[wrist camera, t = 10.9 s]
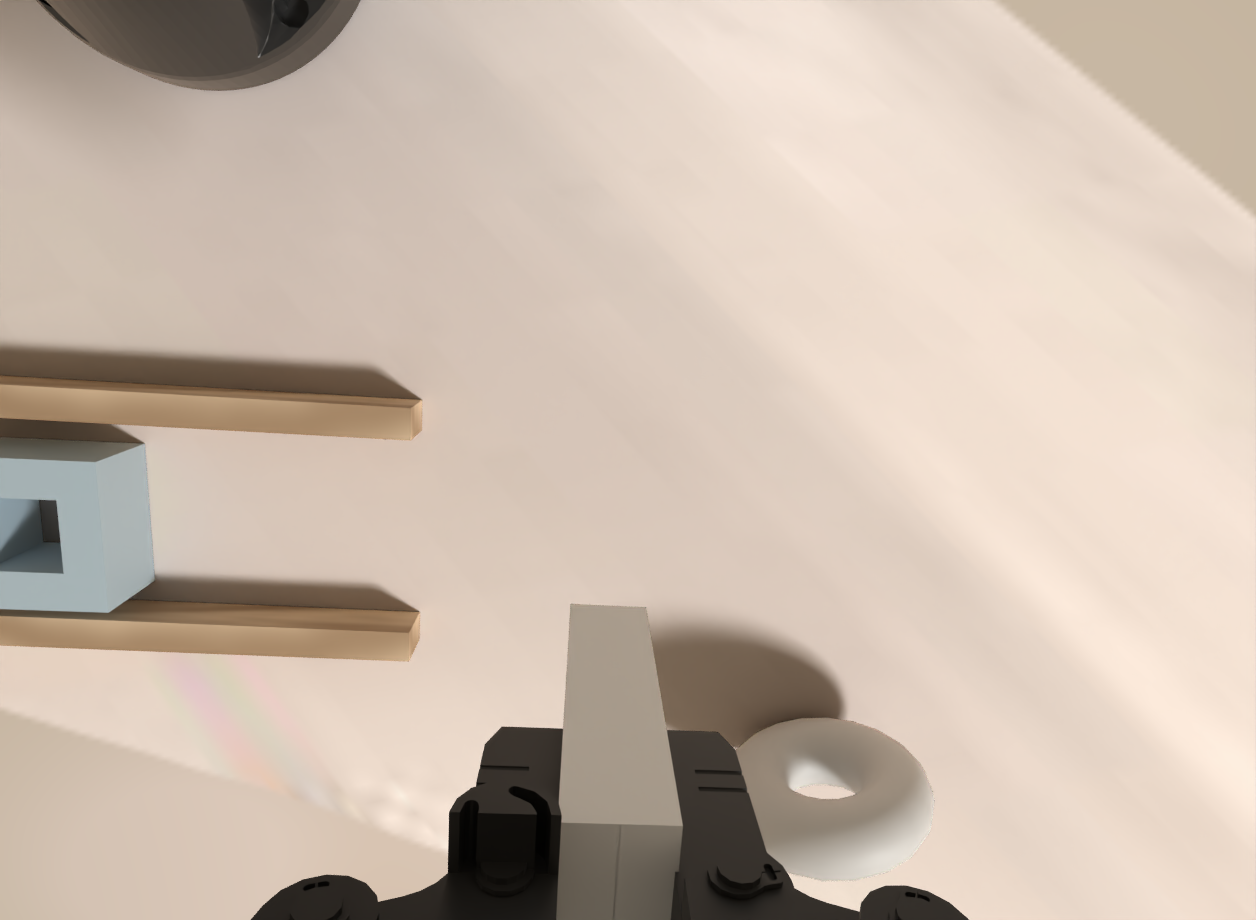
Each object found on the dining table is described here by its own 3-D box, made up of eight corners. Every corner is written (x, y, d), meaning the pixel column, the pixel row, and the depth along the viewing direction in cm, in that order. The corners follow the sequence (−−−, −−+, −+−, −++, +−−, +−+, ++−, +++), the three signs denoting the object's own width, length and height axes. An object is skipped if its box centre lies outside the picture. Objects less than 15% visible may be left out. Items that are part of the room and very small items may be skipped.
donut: (710, 773, 44) (744, 913, 35) (705, 716, 44) (738, 843, 34) (890, 752, 45) (973, 885, 35) (888, 695, 44) (973, 815, 34)
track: (-99, 369, 38) (-161, 378, 35) (422, 399, 39) (407, 410, 36) (-67, 619, 40) (-122, 647, 37) (419, 639, 42) (405, 668, 39)
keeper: (-7, 436, 39) (-74, 454, 35) (144, 443, 39) (95, 462, 35) (9, 575, 40) (-53, 607, 36) (154, 580, 41) (108, 612, 37)
